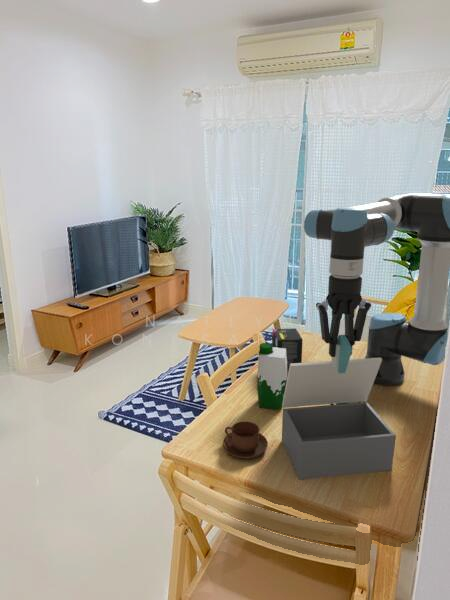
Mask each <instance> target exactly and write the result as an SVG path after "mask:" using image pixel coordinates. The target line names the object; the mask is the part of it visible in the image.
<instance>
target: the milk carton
mask: <svg viewBox="0 0 450 600" xmlns="http://www.w3.org/2000/svg"><path fill="white" fill-rule="evenodd" d="M257 360H258V362H257V398H258V408H259V409H268V410H276V409H277V410H276V411H283V407H282V403H283V398H284V393H285V388H286V382H287V355H286V348H278V347H273V346H272V343H269V342H263V343H260V344H259V350H258V359H257Z"/></svg>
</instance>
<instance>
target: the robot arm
mask: <svg viewBox="0 0 450 600" xmlns="http://www.w3.org/2000/svg"><path fill="white" fill-rule="evenodd" d="M304 218H305V219H304V220H303V222H304V223H303V224H304V225H303V228H304V232H305V235H306V236H308V237H309V238H313V239H316V240H326V241H331V242H330V256H329V269H328V272H329V274H330V275H329V276H328V288H327V289H328V291H327V296H326V298H325V300H324V301H321V302H317V303H316V304H315V306H316V309H317V311H318V315H319V323H320V333H321V340H323V342H325V343H326V344H328V354H329V356H330V357H331V361H332V363H331V366H332V367H333V368H334V369H335V371H336V370H338V368H339V353H340V345H339V344H338V343H337V341H338V337H339V335H340V334H339V332H340V327H341V320H342V319H343V315H344V335H346V337H347V339H348V341H349V343H350V345H351V347H352V348H353V346H355V345H356V342H360V341H362V337H363V332H364V328H365V323H366V319H367V315H368V312H369V311H370V308H371V307H372V304H371V302H369V301H367V300H365V299H363V297H362V294H361V293H362V284H363V277H361V275H363V272H364V271H363V269H364V255H365V248H366V247H372V246H379V245H381V244H383V243H386V242H388V241H389V240H390V239H391V238H392V237H393V235H394V231H395V229H397V230H404V231H410V232H417V236H416V237H417V238H416V239H417V240H418V242H420V244H421V248H420V250H421V251H420V258H419V259H420V260H419V269H418V278H417V286H416V294H415V295H416V296H415V302H414V303H415V305H414V313H413V314H414V315H413V316H412V317H410V318H409V319H408V321H407V317H406V315H404V314H402V313H396V312H382V313H381V312H380V313H378V314H373V316H371V317H370V320H369V326H368V333H367V335H368V336H367V344H366V345H367V346H366V354H365V357H364V358H363V359H367V358H382V362H381V364H380V367H379V370H378V372H377V375H376V378H375V380H374V383H373V384H375V385H380V386H381V385H382V386H395V385H400V384H402V383H403V382H404V381H405V380H404V379H405V369H404V364H403V361H402V357H404V358H409V359H411V360H414V361H417V362H420V363H423V364H429V365H432V366H438V365H440V364H442V363H443V362H444V361H445V359H446V358H445V347H446V342H447V335H448V332H449V331H448V323H447V322H446V321H445V320H444V314H445V309H446V302H447V301H446V299H447V294H448V286H449V285H448V284H449V278H450V277H449V276H450V193H419V192H408V193H401V194H397V195H393V196H388V197H383V198H381V199H379V200H377V201H376V202H372V203H367V204H361V205H355V206H349V207H348V206H347V207H338V208H336V209H331V210H330V209H329V210H322V209H313V210H312V209H311V210H310V211H309V212H308V213H307V214H306V215H305V217H304ZM328 306H329V307H330V308H331V316H332V317H331V323H330V324H329V316H328V315H329V314H328V312H327V311H328V310H329V307H328ZM357 308H358V309H357ZM356 309H357V314H356V316H355V310H356ZM354 318H355V319H354ZM352 354H353V352H352V353H351V356H352ZM444 358H445V359H444ZM346 370H348V365H347V368H346Z"/></svg>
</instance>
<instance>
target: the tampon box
mask: <svg viewBox="0 0 450 600" xmlns="http://www.w3.org/2000/svg"><path fill="white" fill-rule="evenodd" d="M300 334H301V333H299V331H298V329H297V328H272V334H271V335H272V336H271V337H272V338H271V344H272V346H273V347H278V348H286V355H287V372H289V367H290V364H292V363H303V362H302V357H303V356H302V355H303V337H302V336H301V335H300Z"/></svg>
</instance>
